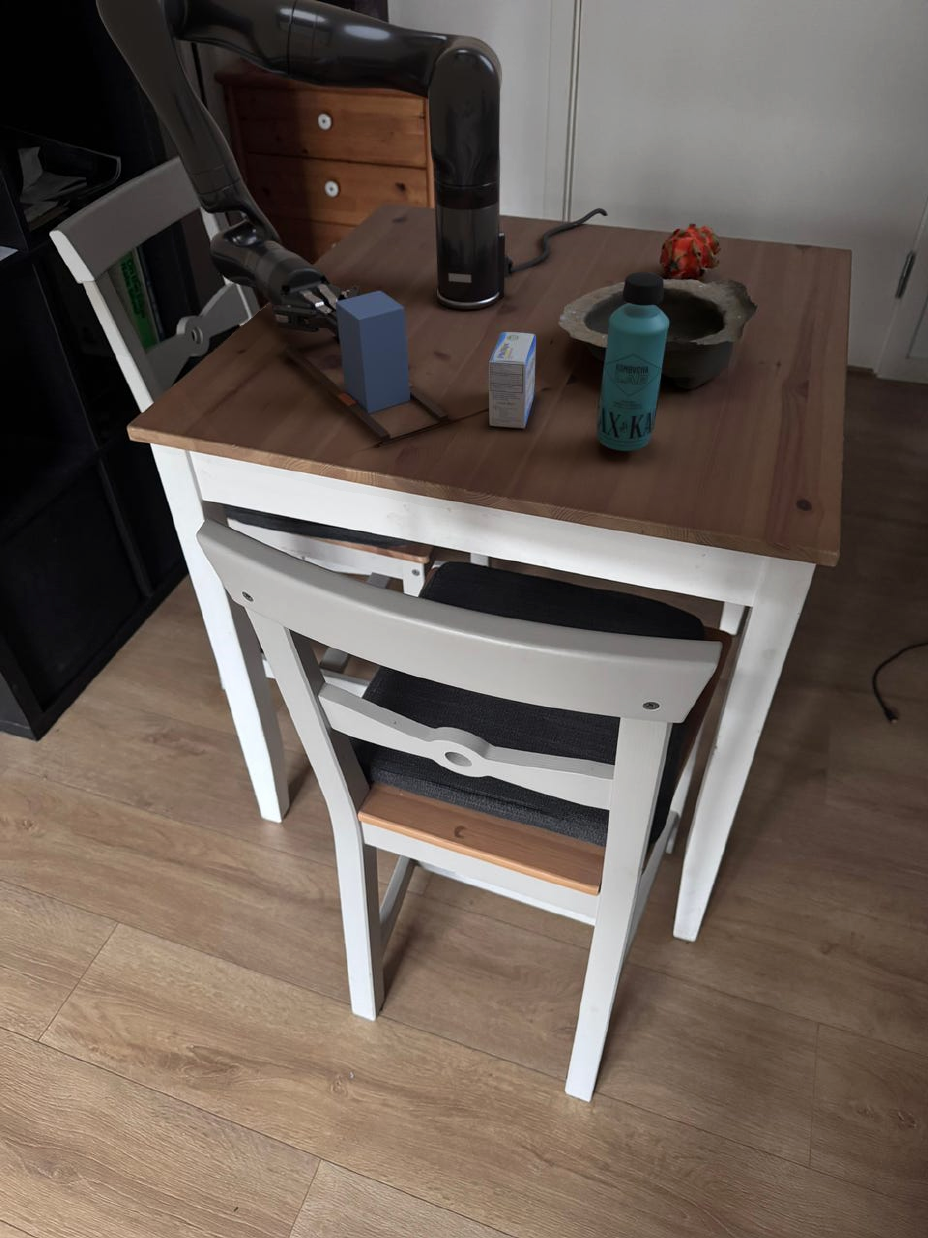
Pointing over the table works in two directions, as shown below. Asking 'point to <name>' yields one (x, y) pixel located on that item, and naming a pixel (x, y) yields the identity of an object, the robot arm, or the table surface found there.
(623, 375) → the beverage bottle
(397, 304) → the block
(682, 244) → the dragon fruit
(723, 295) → the stone bowl
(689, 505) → the table surface
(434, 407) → the track
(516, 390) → the medicine box
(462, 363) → the table surface
